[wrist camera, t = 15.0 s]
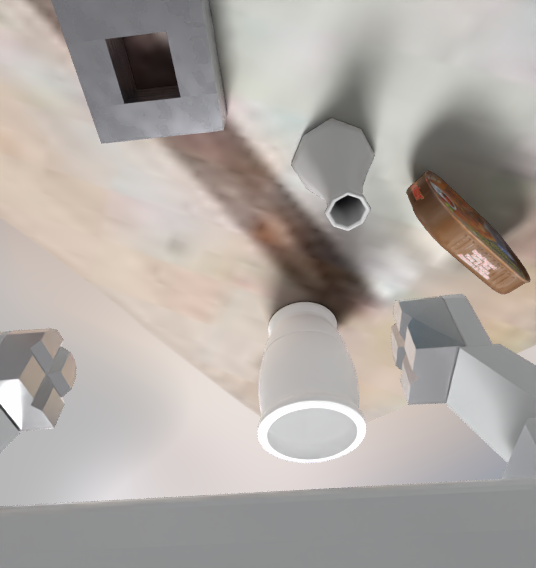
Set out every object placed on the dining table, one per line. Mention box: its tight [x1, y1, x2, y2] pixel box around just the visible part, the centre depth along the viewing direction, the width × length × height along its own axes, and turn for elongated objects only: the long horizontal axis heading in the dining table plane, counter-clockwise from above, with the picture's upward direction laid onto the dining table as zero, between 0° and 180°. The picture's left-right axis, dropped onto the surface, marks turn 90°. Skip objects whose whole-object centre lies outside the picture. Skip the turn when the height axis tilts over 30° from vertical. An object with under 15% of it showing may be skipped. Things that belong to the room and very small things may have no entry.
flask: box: [291, 118, 375, 231], centre depth 36 cm, size 7×7×10 cm
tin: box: [406, 171, 530, 294], centre depth 40 cm, size 15×3×8 cm, turn 51°
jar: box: [258, 302, 366, 463], centre depth 47 cm, size 11×10×15 cm
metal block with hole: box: [51, 0, 227, 144], centre depth 33 cm, size 10×10×4 cm
